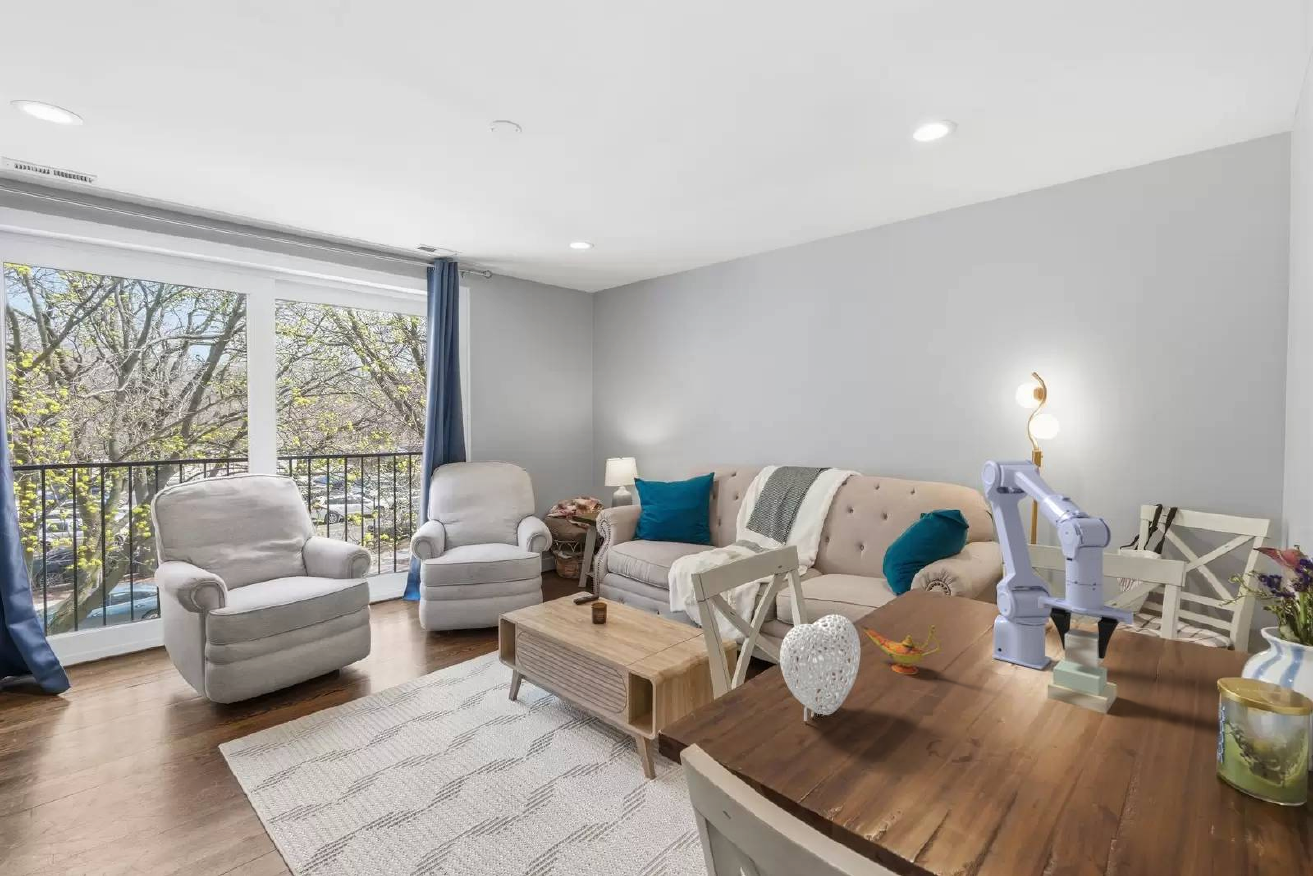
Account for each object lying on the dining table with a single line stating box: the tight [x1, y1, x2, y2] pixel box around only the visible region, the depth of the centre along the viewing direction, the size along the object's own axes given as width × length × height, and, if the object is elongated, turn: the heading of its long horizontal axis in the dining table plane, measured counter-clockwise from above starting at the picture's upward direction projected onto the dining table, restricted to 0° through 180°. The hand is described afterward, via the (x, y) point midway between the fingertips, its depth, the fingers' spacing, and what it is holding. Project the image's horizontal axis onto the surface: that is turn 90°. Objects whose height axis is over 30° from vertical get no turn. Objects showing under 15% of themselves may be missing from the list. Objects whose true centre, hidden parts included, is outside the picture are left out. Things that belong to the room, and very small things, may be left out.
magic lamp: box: [858, 625, 941, 675], centre depth 128 cm, size 7×18×11 cm, turn 41°
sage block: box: [1052, 657, 1108, 696], centre depth 113 cm, size 7×7×3 cm
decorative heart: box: [779, 614, 862, 722], centre depth 108 cm, size 18×11×17 cm, turn 128°
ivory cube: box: [1064, 627, 1104, 668], centre depth 113 cm, size 5×5×5 cm
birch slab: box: [1047, 678, 1117, 715], centre depth 113 cm, size 9×9×3 cm
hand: (1083, 653), depth 113 cm, fingers closed on ivory cube, 5 cm apart
